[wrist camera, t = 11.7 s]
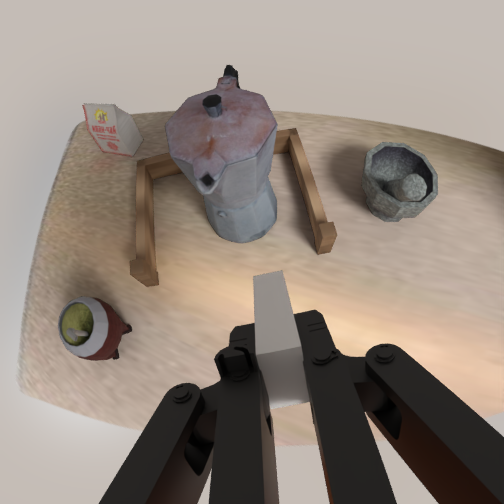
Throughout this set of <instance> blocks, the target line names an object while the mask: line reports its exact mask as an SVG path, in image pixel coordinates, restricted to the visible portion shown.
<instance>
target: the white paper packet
mask: <svg viewBox="0 0 504 504" xmlns="http://www.w3.org/2000/svg"><path fill="white" fill-rule="evenodd" d="M83 109H84V112H85V118H86V124H87V130H88V131H89V133H90V134H91V136H92V137H93V139H94V140H95V142H96V143H97V144H98V146H99V147H100V149H101V150H102V152H107V153H113V154H119V155H125V156H131V157H133V155H134V154H135V152H136V150H137V149H138V147H139V146H140V144H141V143H142V141H143V140H144V139H143V138H142V136H141V134H140V132H139V130H138V128H137V126H136V124H135V122H134V120H133V118H132V116H131V115H130V114H128V113H126V112H124V111H122V110H121V109H119V108H118V107H117V106H116V105H114V104H85V105H83Z"/></svg>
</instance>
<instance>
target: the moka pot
mask: <svg viewBox="0 0 504 504" xmlns="http://www.w3.org/2000/svg"><path fill="white" fill-rule="evenodd" d="M165 129H166V134H167V139H168V145H169V152H170V155H171V158H172V159H173V160H174V162H175V163H176V164H177V165H178V167H179V168H180V169H181V171H182V172H183V173H184V174H185V176H186V177H187V178H188V179H189V181H190V182H191V183H192V184H193V186H194V187H195V188H196V190H197V191H198V192H199V193H200V194H202V195H203V197H204V202H205V207H206V212H207V216H208V220H209V222H210V224H211V225H212V227H213V228H214V230H215V231H216V233H217V234H218V235H219V236H220V237H222V238H224V239H226V240H229V241H232V242H237V243H246V242H250V241H254V240H256V239H259V238H261V237H262V236H264V235H265V234H266V233H267V232H268V231H269V230H270V228H271V227H272V226H273V224H274V223H275V221H276V219H277V200H276V197H275V194H274V192H273V189H272V186H271V183H270V181H269V178H268V175H269V173H270V171H271V164H272V158H273V151H274V144H275V138H276V131H277V122H276V120H275V118H274V116H273V114H272V112H271V110H270V108H269V106H268V105H267V102H266V100H265V98H264V97H263V96H262V95H260V94H257V93H254V92H250V91H247V90H242V89H240V87H239V83H238V71H236V70H235V69H234V68H233V67H232V66H231V65H227V66H226V68H225V70H224V75H223V77H221V78H219V79H218V83H217V86H216V88H215V89H213V90H210V91H207V92H204V93H201V94H198V95H194V96H192V97H189V98H188V99H187V100H186V101H185V102H184V103H183V104H182V106H181V107H180V108H179V109H178V110H177V111H176V112H175V113H174V115H173V116H172V117H171V118H170V119H169V121H168V122H167V123H166V125H165Z"/></svg>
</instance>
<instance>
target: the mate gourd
mask: <svg viewBox="0 0 504 504" xmlns="http://www.w3.org/2000/svg"><path fill="white" fill-rule="evenodd" d="M58 329H59V335H60V338H61V340H62V342H63V344H64V345H65V347H66V349H67V350H69V351H70V352H71V353H73V354H74V355H76V356H78V357H79V358H82V359H87V360H108V359H110V358H112V357H113V359H118V358H119V353H118V349H117V347H118V345H119V343H120V341H121V337H122V335H123V334H126V333H129V332H131V331H132V327H131V326H130V325H127V326H126V325H125V324H124V323H123V322H122V321H121V320H120V318H119V317H118V315H117V314H116V313H115V311H114V310H113V309H112V307H111V306H110V305H108V304H107V303H105V302H103V301H102V300H100V299H98V298H92V297H83V296H81V297H79V298H76V299H74V300H72V301H70V302H69V303H68V304H67V305H66V306H65V307H64V308H63V310H62V312H61V314H60V316H59V322H58Z"/></svg>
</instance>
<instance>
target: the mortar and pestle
mask: <svg viewBox="0 0 504 504" xmlns="http://www.w3.org/2000/svg"><path fill="white" fill-rule="evenodd" d="M361 186H362V188H363V190H364V192H365V193H366V195H367V198H366V203H367V205H368V207H369V209H370V210H371V212H372V214H373V215H375V216H376V217H378V218H380V219H381V220H383V221H385V222H398V221H400V220H401V219H402V218H413V217H416V216H417V215H418V214H420V213H421V212H422V211H423V210H424V209H425V208H426V207H427V206H428V205H429V204H430V203H431V202H432V201H433V200H434V199H435V197H436V196H437V195H438V177H437V173H436V171H435V170H434V168H433V167H432V165H431V164H430V163H429V161H428V160H427V158H426V157H425V155H423V154H422V153H420V152H418V151H416V150H415V149H413V148H411V147H410V146H408V145H406V144H404V143H391V142H382V143H380V144H379V145H377V146H376V147H374V148H373V149H371V150H370V151H369V152H367V154H366V157H365V162H364V169H363V176H362V185H361Z"/></svg>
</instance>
